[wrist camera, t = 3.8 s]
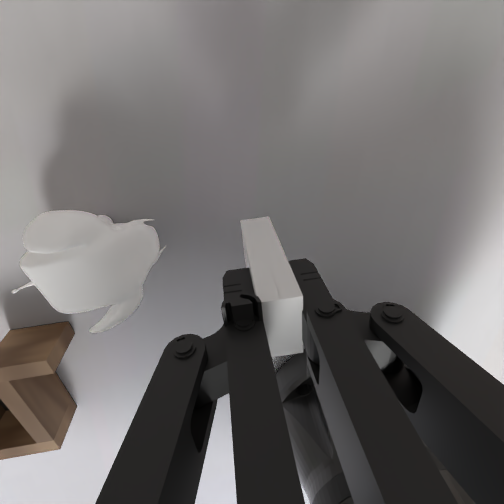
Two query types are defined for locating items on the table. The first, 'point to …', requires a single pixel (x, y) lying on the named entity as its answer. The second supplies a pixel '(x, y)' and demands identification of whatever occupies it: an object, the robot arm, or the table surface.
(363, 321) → the robot arm
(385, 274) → the table surface
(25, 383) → the walnut maze corridor
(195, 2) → the table surface
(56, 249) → the elephant figurine
